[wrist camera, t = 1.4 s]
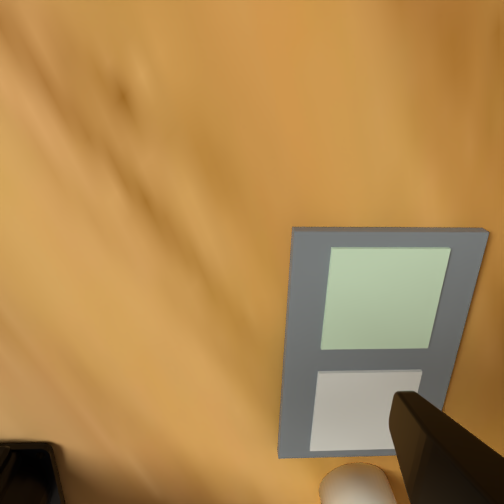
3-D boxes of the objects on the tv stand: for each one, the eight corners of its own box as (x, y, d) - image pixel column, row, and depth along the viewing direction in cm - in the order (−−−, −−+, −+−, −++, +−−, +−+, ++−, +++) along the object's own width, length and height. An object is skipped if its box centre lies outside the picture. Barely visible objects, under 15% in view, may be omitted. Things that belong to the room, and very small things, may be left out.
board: (425, 445, 25) (431, 457, 24) (277, 449, 25) (279, 461, 24) (481, 227, 20) (491, 233, 19) (292, 226, 19) (294, 233, 18)
